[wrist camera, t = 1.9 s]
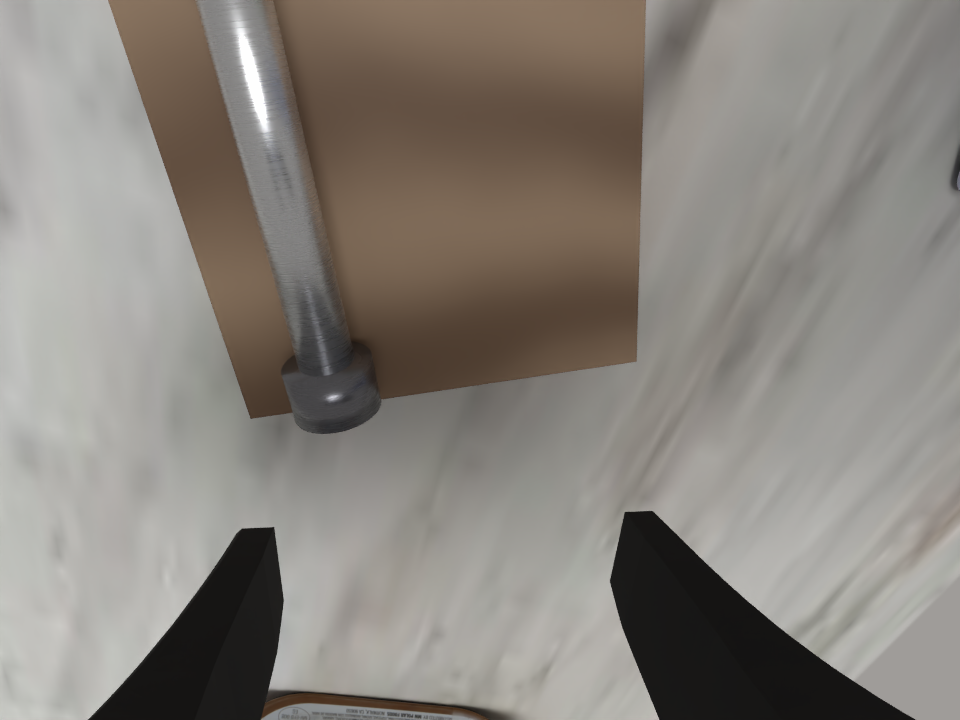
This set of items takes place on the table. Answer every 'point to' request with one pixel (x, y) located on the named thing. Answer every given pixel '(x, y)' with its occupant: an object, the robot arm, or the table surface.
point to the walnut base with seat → (424, 181)
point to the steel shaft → (289, 217)
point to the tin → (357, 709)
